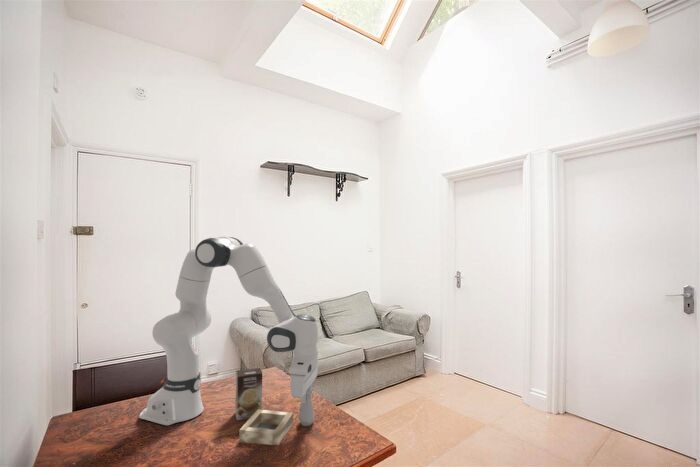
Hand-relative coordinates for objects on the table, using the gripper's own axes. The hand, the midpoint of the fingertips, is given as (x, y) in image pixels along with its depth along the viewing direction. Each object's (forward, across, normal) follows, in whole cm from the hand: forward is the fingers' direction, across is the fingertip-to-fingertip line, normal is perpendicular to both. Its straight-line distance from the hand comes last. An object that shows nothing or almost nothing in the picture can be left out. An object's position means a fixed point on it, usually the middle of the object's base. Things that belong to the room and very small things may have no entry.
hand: (305, 399), depth 124 cm
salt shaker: (+9, 0, 0) cm, 9 cm away
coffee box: (+9, -2, -23) cm, 25 cm away
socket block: (+9, +8, -11) cm, 16 cm away
